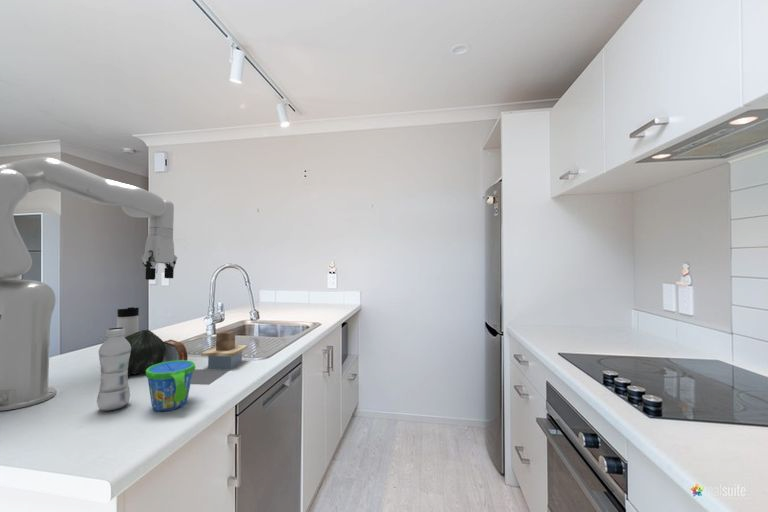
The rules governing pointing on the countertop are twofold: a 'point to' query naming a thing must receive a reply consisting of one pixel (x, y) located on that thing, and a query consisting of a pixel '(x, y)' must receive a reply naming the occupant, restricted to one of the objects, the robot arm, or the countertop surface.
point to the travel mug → (128, 320)
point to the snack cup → (169, 384)
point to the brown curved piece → (174, 351)
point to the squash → (144, 351)
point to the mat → (206, 376)
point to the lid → (225, 345)
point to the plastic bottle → (114, 370)
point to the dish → (224, 361)
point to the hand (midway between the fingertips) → (160, 278)
